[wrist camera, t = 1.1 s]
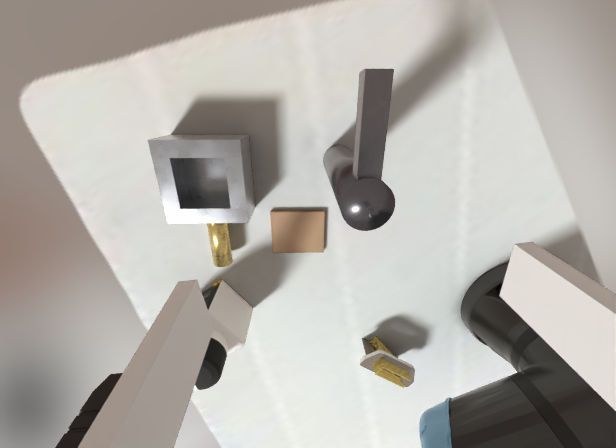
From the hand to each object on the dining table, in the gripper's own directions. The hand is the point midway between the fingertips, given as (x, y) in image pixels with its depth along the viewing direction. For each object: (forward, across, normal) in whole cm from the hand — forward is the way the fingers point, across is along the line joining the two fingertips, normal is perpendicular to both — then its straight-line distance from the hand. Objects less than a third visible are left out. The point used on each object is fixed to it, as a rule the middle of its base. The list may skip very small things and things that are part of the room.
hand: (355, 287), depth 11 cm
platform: (+23, -9, +32) cm, 40 cm away
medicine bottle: (+23, +16, +20) cm, 35 cm away
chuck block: (+23, +13, +4) cm, 27 cm away
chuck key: (+23, -3, -3) cm, 24 cm away
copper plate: (+23, +3, +9) cm, 25 cm away
